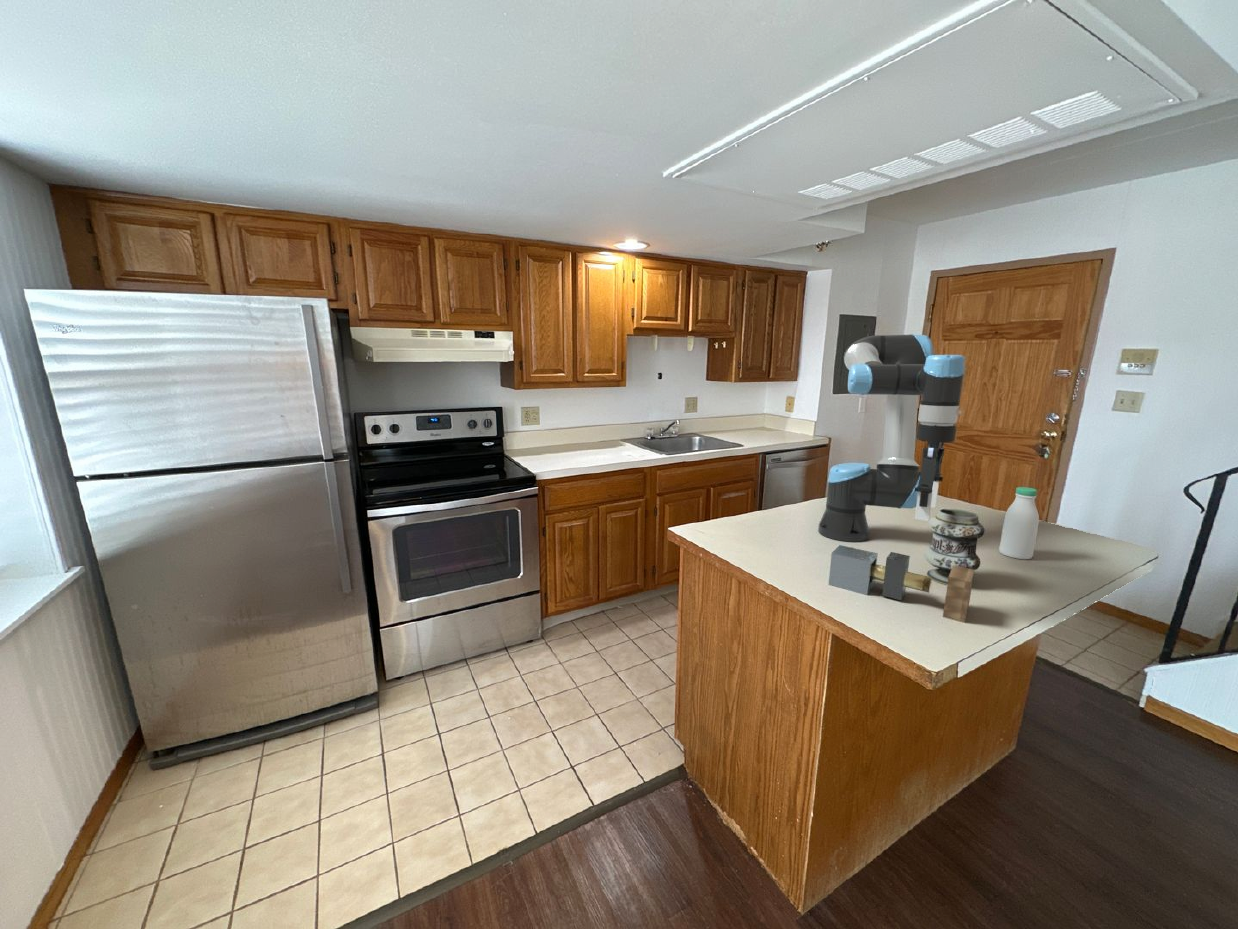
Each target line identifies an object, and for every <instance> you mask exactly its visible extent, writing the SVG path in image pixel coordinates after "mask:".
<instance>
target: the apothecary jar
mask: <svg viewBox="0 0 1238 929" xmlns="http://www.w3.org/2000/svg"><path fill="white" fill-rule="evenodd" d="M928 526H929V529H930V530H931V531H932V538H931V544H930V546H927V548H926V549H925V550H924V552H923V555H924V559H925V560H926V561H927V562H928V563H929V564H930V565H932V567H935V568H933V569H929V570H928V571H927V572H926V576H928V577H932V581H934V582H937V583H938V584H943V585H946V586H947V585H948V578H949V575H950V572H951V569H952V567H953V565H955V566H960V567H964V568H969V569H974V571H975V570H977V569H979V567H980V566H981V559H980V557H979V555H978V554H977V545H978V544H977V543H978V539H979V538H982V537H983V536H984V535H985V531H986V530H985V527H984V525H983V524H982V523H981V522H980V519H979V515H978V514H977V513H975V512H973V511H970V510H967V509H962V508H954V507H953V508H951V507H950V508H949V507H941V508H939V509H938V511H937V513H936V515H935V516H933V517H931V518H929V521H928Z"/></svg>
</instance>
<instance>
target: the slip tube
mask: <svg viewBox="0 0 1238 929" xmlns="http://www.w3.org/2000/svg"><path fill="white" fill-rule="evenodd" d="M910 557H911V555H907V554H903V553H898V552H893V551H891V552H890V553H888V555H887V556H886V558H885V565H881V564H873V563H872V564H871V573H870V578H872V579H875V580H877V581H881V582H883V585H882V592H881V596H884V597H887V598H889V599H890V598H891V599H894V600H898V601H902V600H903V598H904V596H905V594H906V589H907V588H908V589H913V590H917V591H920V592H923V593H924V592H925V593H930V590H931V586H932V581H933V580H932V577H928V576H927V575H923V574H918V573H914V572H910V571H909V567H910V566H909V565H910V559H911V558H910Z"/></svg>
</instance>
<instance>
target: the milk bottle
mask: <svg viewBox="0 0 1238 929" xmlns="http://www.w3.org/2000/svg"><path fill="white" fill-rule="evenodd" d="M1037 493H1038V490H1037V489H1035V488H1032V487H1025V486H1019V487H1018V486H1017V487H1016V489H1015V499H1014V500H1013V502H1012V503H1011V505H1009V507H1008V509H1007V510H1006V512H1005V515H1004V520H1003V525H1002V530H1001V534H1000V535H1001V536H1000V540H999V541H1000V543H999V548H998V551H999V553H1000V554H1001V555H1004V556H1006V557H1008V558H1013V559H1018V560H1030V559H1032V558H1033V557H1034V551H1035V547H1036V540H1037V536H1038V535H1037V534H1038V529H1039V522H1040V516H1039V512H1038V509H1037V505H1036V502H1035V500H1036V498H1037Z"/></svg>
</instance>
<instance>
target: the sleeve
mask: <svg viewBox="0 0 1238 929" xmlns="http://www.w3.org/2000/svg"><path fill="white" fill-rule="evenodd" d="M878 554H879V553H878V552H877V553H876V552H873V551H867V550H863V549H859V548H855V547H851V546H846V545H842V544H839V545H838V546H837V547H836V548H835V549H834V550H833V551H832V552H831V555H830V566H829V577H828V578H829V579H828V585H829V586H832V587H836V588H840V589H843V590H847V589H848V590H847V591H850V590H851V592H854V593H859V594H863V595H866V596H867V595H869V594H870V592H871V590H872V589H873V588H874V586H875V582H876V581H875V580H876V579H872V578H870V573H871V564H872V563H873V564H877V563H878V556H879V555H878ZM877 565H878V564H877Z"/></svg>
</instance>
